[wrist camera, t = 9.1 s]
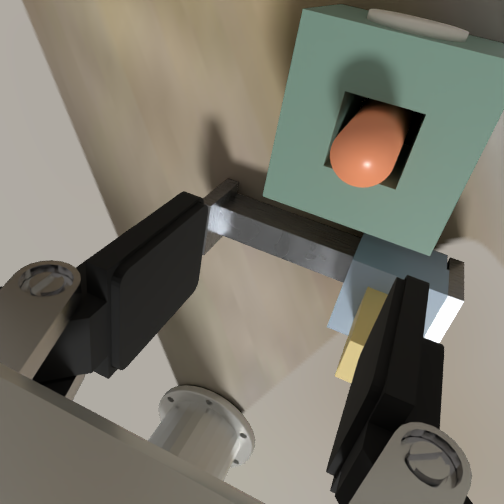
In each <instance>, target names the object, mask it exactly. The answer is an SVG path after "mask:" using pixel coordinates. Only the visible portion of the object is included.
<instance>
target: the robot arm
mask: <svg viewBox="0 0 504 504" xmlns="http://www.w3.org/2000/svg"><path fill="white" fill-rule="evenodd" d="M207 216H208V206H207V205H205V204H204V200H203V198H201V197H198V196H195V195H193V194H190V193H187V192H184V191H183V192H181V193H180V194H178V195H177V196H176V197H174V198H173V199H171V200H170V201H169V202H167V203H166V204H164V205H163V206H162V207H160V208H159V209H158V210H156V211H155V212H153V213H152V214H151V215H149V216H148V217H146V218H145V219H144V220H142V221H141V222H139V223H138V224H137V225H135V226H133V227H132V228H131V229H129V230H128V231H126V232H125V233H124V234H122V235H121V236H119V237H118V238H117V239H115V240H114V241H112V242H111V243H110V244H108V245H107V246H105V247H104V248H103V249H101V250H100V251H99V252H97V253H96V254H94V255H93V256H92V257H90V258H89V259H87V260H86V261H85V262H83V263H82V264H80V265H79V266H78V267H76V268H75V267H73V266H72V265H70V264H68V263H64V262H61V261H53V260H51V261H40V262H35V263H31V264H29V265H27V266H25V267H23V268H21V269H20V270H19V271H17V272H16V273H15V274H14V275H13V276H12V277H11V278H10V279H9V280H8V281H7V283H6V284H5V285H4V286H3V287H0V504H265V503H263V502H261V501H259V500H257V499H256V498H254V497H252V496H250V495H248V494H246V493H244V492H243V491H240V490H239V489H237V488H235V487H233V486H231V485H229V484H227V483H226V482H224V479H225V477H226V475H227V473H228V471H229V469H230V467H236V466H240V465H242V464H244V463H245V462H247V461H248V460H249V458H250V457H251V454H252V453H253V450H254V447H255V437H254V433H253V431H252V429H251V426H250V424H249V423H248V421H247V420H246V418H245V417H244V416H243V414H242V413H241V412H240V411H239V410H238V409H237V408H236V407H235V406H234V405H232V404H231V403H230V402H229V401H227V400H226V399H224V398H223V397H221V396H220V395H218V394H216V393H214V392H212V391H209V390H207V389H204V388H201V387H196V386H188V385H183V386H177V387H174V388H172V389H170V390H169V391H168V392H167V393H166V394H165V395H164V396H163V398H162V400H161V401H160V404H159V416H160V419H161V423H160V424H159V426H158V427H157V429H156V430H155V432H154V433H153V434H152V436H151V437H150V439H149V440H148V441H147V440H145V439H143V438H141V437H140V436H138V435H136V434H134V433H132V432H130V431H128V430H126V429H124V428H123V427H121V426H119V425H117V424H115V423H113V422H111V421H109V420H107V419H106V418H104V417H102V416H100V415H98V414H96V413H94V412H92V411H91V410H89V409H87V408H85V407H83V406H81V405H79V404H77V403H75V402H73V399H74V397H75V395H76V393H77V391H78V389H79V387H80V386H81V384H82V382H83V380H84V377H85V374H88V373H92V372H93V371H94V372H96V373H98V374H100V375H102V376H104V377H106V378H108V379H109V378H110V377H111V376H112V375H113V373H114V372H115V371H116V370H117V369H120V370H123V369H125V368H126V367H127V366H128V365H129V364H130V363H131V361H132V360H133V359H134V358H135V357H136V356H137V355H138V354H139V353H140V352H141V350H142V349H143V348H144V347H145V346H146V345H147V344H148V343H149V341H150V340H151V339H152V338H153V337H154V336H155V335H156V334H157V333H158V331H159V330H160V329H161V328H162V327H163V326H164V325H165V324H166V322H167V321H168V320H169V319H170V318H171V317H172V316H173V315H174V314H175V312H176V311H177V310H178V309H179V308H180V307H181V306H182V305H183V303H184V302H185V301H186V300H187V299H188V298H189V297H190V296H191V295H192V293H193V292H194V291H195V289H196V287H197V284H198V281H199V274H200V267H201V259H202V252H203V245H204V238H205V231H206V223H207ZM429 286H430V283H428V282H426V281H423V280H420V279H418V278H415V277H412V276H410V275H407V276H406V277H405V279H401V278H399V277H396V279H395V281H394V283H393V285H392V287H391V289H390V291H389V294H388V296H387V298H386V300H385V302H384V304H383V306H382V309H381V311H380V313H379V315H378V317H377V319H376V321H375V324H374V326H373V328H372V330H371V332H370V334H369V336H368V339H367V341H366V343H365V345H364V347H363V349H362V352H361V354H360V357H359V359H358V362H357V366H356V369H355V372H354V376H353V379H352V383H351V386H350V390H349V394H348V397H347V400H346V404H345V407H344V410H343V414H342V417H341V421H340V425H339V428H338V431H337V435H336V438H335V442H334V445H333V449H332V452H331V456H330V459H329V462H328V466H327V470H326V472H327V473H329V474H331V475H333V476H334V479H333V482H332V486H331V490H330V491H331V492H333V493H335V497H336V499H337V501H338V503H339V504H473V503H472V502H471V501H470V499H469V498H468V497H467V493H468V491H469V488H470V485H471V479H472V473H471V468H470V464H469V462H468V460H467V458H466V456H465V454H464V452H463V451H462V450H461V448H460V447H459V446H458V445H457V443H456V442H455V441H454V440H453V439H452V438H450V437H449V436H448V435H447V434H446V433H444V432H443V431H441V430H440V412H441V396H442V379H443V362H444V346H443V345H442V344H440V343H437V342H435V341H432V340H430V339H427V338H425V337H423V336H424V327H425V319H426V311H427V303H428V294H429Z"/></svg>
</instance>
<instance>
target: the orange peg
mask: <svg viewBox="0 0 504 504" xmlns="http://www.w3.org/2000/svg"><path fill="white" fill-rule="evenodd" d="M411 121H412V112H411V110H409V109H406V108H402V107H399V106H395V105H392V104H388V103H385V102H381V101H378V100H374V99H371V98H370V99H369V100H368V101H367V102H366V103H365V104H364V106H363V107H362V108H361V109H360V110H359V111H358V112H357V114H356V115H355V116H354V117H353V118H352V119H351V121H350V122H349V123H348V124H347V125H346V126H345V127H344V129H343V130H342V131H341V132H340V133H339V134H338V135H337V137H336V138H335V140H334V141H333V143H332V146H331V150H330V161H331V165H332V168H333V170H334V172H335V173H336V175H337V176H338V177H339V178H340V179H341V180H342V181H344V182H345V183H347V184H349V185H351V186H355V187H362V188H365V187H371V186H374V185H377V184H379V183H381V182H382V181H384V180H385V179H386V178H387V177H388V176H389V175H390V173H391V172H392V170H393V168H394V165H395V163H396V160H397V158H398V155H399V153H400V150H401V148H402V145H403V143H404V140H405V138H406V135H407V133H408V130H409V128H410V125H411Z"/></svg>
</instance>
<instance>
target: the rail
mask: <svg viewBox="0 0 504 504" xmlns="http://www.w3.org/2000/svg"><path fill="white" fill-rule="evenodd" d="M238 185H239V182H237V181H234V180H231V179H227V180H225V181H224V182H223V183H222V184H220V185H219V186H218V187H217V188H215V189H214V190H213V191H212V192H210V193H209V194H208V195H207V196H205V197H204V198H203V200H204V204H205V205H207V206H208V216H207V223H206V231H205V238H204V245H203V252H202V255H205V254H206V253H207V252H208V251H209V250H210V249H211V248H212V247H213V246H214V244H215V243H216V242H217V241H218V240H219V239H220V238H221V237H222V236H225V237H228V238H230V239H233V240H236V241H238V242H241V243H243V244H246V245H248V246H251V247H253V248H256V249H259V250H261V251H264V252H266V253H269V254H271V255H274V256H277V257H279V258H282V259H284V260H287V261H289V262H292V263H295V264H297V265H300V266H302V267H305V268H307V269H310V270H312V271H315V272H318V273H320V274H323V275H325V276H328V277H330V278H333V279H336V280H338V281H341V282H343V283H344V281H345V278H346V276H347V273H348V270H349V268H350V265H351V262H352V260H353V257H354V255H355V253H356V250H357V248H358V245H359V243H360V241H361V238H359V237H357V236H354V235H351V234H348V233H346V232H343V231H340V230H337V229H335V228H332V227H329V226H326V225H324V224H321V223H318V222H315V221H313V220H310V219H307V218H304V217H301V216H299V215H296V214H293V213H290V212H288V211H285V210H282V209H279V208H277V207H274V206H271V205H268V204H266V203H263V202H260V201H257V200H255V199H252V198H249V197H246V196H244V195H241V194H238V193H237V191H238ZM447 270H449V286H448V296H447V298H446V300H445V302H444V303H443V305H442V307H441V309H440V310H439V312H438V314H437V316H436V317H435V319H434V321H433V323H432V324H431V326H430V328H429V330H428V331H427V333H426V335H425V338H427V339H430V340H432V341H435V342H437V343H439V342H440V341H441V339H442V337H443V335H444V333H445V332H446V331H447V329H448V327H449V326H450V324H451V322H452V321H453V319H454V317H455V316H456V314H457V312H458V311H459V309H460V307H461V306H462V304H463V302H464V262H462V261H459V260H456V259H453V258H450V259H449V261H448V262H447Z"/></svg>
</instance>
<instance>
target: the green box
mask: <svg viewBox="0 0 504 504" xmlns="http://www.w3.org/2000/svg"><path fill="white" fill-rule="evenodd" d="M363 96H364V97H367V98H371V99H374V100H378V101H381V102H385V103H388V104H392V105H395V106H399V107H402V108H406V109H409V110H413V111H416V112H419V113H423V114H424V115H423V117H422V119H421V122H420V124H419V127H418V129H417V132H416V134H415V137H414V139H413V142H412V144H411V146H408V145H405V144H403V145H402V148H401V150H400V153H399V155H398V158H397V160H396V163H395V165H394V168H393V170H392V172H391V173H390V175H389V176H388V177H387V178H386V179H385V180H384V181H382V182H381V183H379V184H377V185H374V186H371V187H365V188H362V187H355V186H351V185H349V184H347V183H345V182H344V181H342V180H341V179H340V178H339V177H338V176H337V175H336V173H335V172H334V170H333V168H332V165H331V161H330V150H331V146H332V143H333V141H334V140H335V138H336V137H337V135H338V134H339V133H340V132H341V131H342V130H343V129H344V127H345V126H346V125H347V124H348V123H349V122H350V121H351V119H352V118H353V117H354V116H355V115H356V114H357V112H358V111H359V109H360V105H361V102H362V99H363ZM503 110H504V43H501V42H497V41H493V40H489V39H485V38H480V37H476V36H472V35H469V32H468V31H466V30H464V29H461V28H458V27H455V26H452V25H448V24H445V23H441V22H437V21H433V20H429V19H425V18H421V17H417V16H412V15H408V14H403V13H398V12H393V11H387V10H381V9H369V11H368V10H364V9H360V8H356V7H351V6H347V5H343V4H337V5H329V6H321V7H313V8H305V9H303V10H302V15H301V19H300V24H299V29H298V33H297V38H296V43H295V47H294V52H293V57H292V61H291V66H290V71H289V75H288V80H287V85H286V89H285V94H284V98H283V103H282V108H281V112H280V117H279V122H278V126H277V131H276V136H275V140H274V145H273V150H272V154H271V159H270V164H269V168H268V173H267V177H266V182H265V187H264V191H263V197H266V198H269V199H272V200H275V201H277V202H280V203H283V204H286V205H288V206H291V207H294V208H297V209H300V210H302V211H305V212H308V213H311V214H314V215H316V216H319V217H322V218H325V219H327V220H330V221H333V222H336V223H339V224H341V225H344V226H347V227H350V228H352V229H355V230H358V231H361V232H364V233H366V234H369V235H372V236H375V237H378V238H380V239H383V240H386V241H389V242H391V243H394V244H397V245H400V246H403V247H405V248H408V249H411V250H414V251H417V252H419V253H422V254H425V255H428V256H430V255H431V253H432V251H433V249H434V247H435V245H436V243H437V241H438V239H439V237H440V235H441V233H442V231H443V229H444V227H445V225H446V223H447V221H448V219H449V217H450V215H451V213H452V211H453V209H454V207H455V205H456V203H457V201H458V199H459V197H460V195H461V193H462V191H463V189H464V187H465V185H466V183H467V181H468V180H469V178H470V176H471V174H472V172H473V170H474V168H475V166H476V164H477V162H478V160H479V158H480V156H481V154H482V152H483V150H484V148H485V146H486V144H487V142H488V140H489V138H490V136H491V134H492V132H493V130H494V128H495V126H496V124H497V122H498V120H499V118H500V116H501V114H502V112H503Z"/></svg>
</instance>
